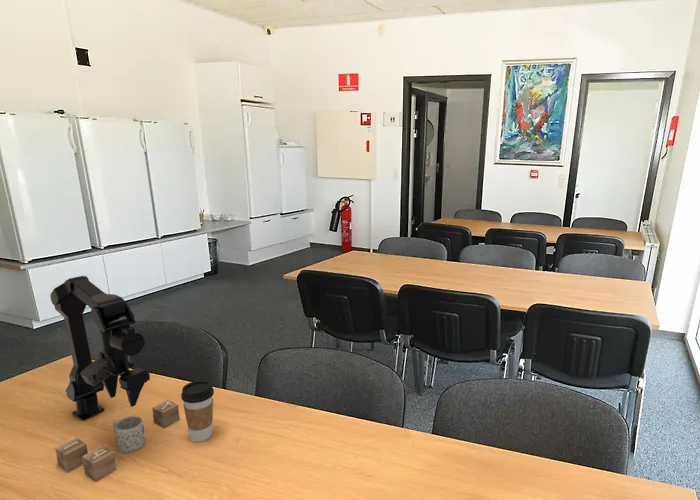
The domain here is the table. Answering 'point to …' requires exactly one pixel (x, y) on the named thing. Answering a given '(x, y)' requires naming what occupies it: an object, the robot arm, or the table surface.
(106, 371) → the robot arm
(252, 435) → the table surface
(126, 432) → the mug
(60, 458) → the walnut block one
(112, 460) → the walnut block four
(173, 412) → the brown and beige block
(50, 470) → the table surface
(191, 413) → the coffee cup
